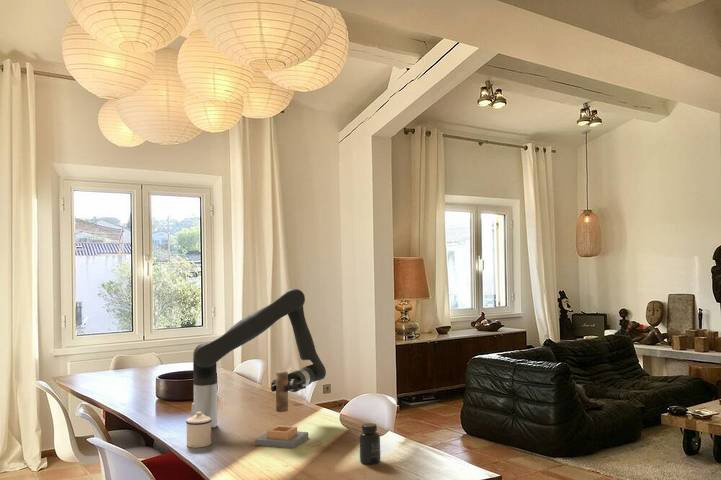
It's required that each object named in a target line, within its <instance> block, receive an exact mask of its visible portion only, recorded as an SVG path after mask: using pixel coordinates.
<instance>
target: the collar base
mask: <svg viewBox="0 0 721 480" xmlns="http://www.w3.org/2000/svg"><path fill="white" fill-rule="evenodd" d="M305 439H306V440H307V439H309V432H308V431H298V426H293V425H292V426H290V425H281V424H279V425H275V426H273V427H271V428H269V429H268V430H266V432H265V433H263V434H262V435H260V436H258V437H257V438H254V445H255V446H263V447H275V448H287V449H294V448H296V447H297V446H298V445H300V444H301V443H302V442H303V443H304V441H305Z"/></svg>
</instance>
